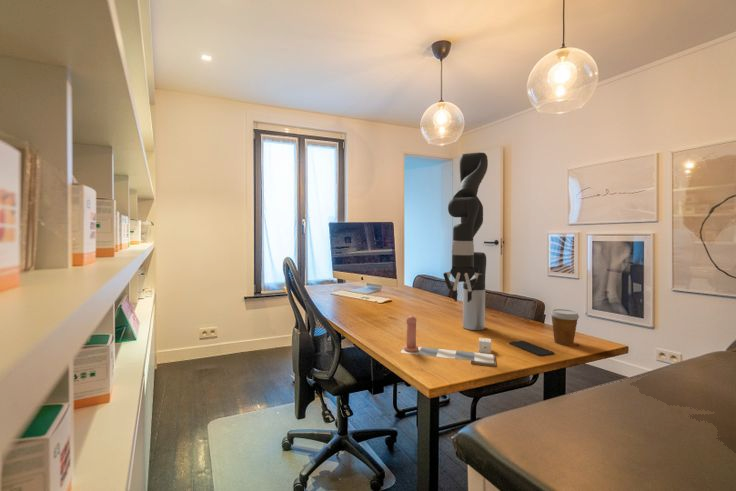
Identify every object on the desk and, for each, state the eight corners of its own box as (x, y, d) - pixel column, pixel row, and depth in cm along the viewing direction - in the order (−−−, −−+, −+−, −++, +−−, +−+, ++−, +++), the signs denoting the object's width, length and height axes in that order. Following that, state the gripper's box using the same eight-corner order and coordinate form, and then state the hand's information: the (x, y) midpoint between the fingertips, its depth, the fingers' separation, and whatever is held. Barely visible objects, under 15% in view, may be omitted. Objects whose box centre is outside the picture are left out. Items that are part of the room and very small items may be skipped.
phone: (522, 340, 134) (556, 352, 120) (522, 342, 134) (556, 355, 120) (507, 342, 131) (539, 355, 117) (507, 344, 131) (539, 357, 117)
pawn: (405, 346, 123) (406, 313, 123) (419, 348, 122) (419, 314, 121) (403, 351, 119) (403, 316, 118) (416, 352, 117) (417, 318, 117)
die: (478, 348, 125) (479, 337, 125) (490, 349, 124) (490, 338, 124) (478, 352, 121) (479, 340, 121) (491, 353, 120) (491, 342, 120)
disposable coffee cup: (580, 342, 132) (581, 311, 132) (574, 348, 125) (575, 315, 125) (553, 337, 139) (554, 307, 138) (546, 342, 132) (547, 311, 131)
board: (403, 347, 126) (403, 344, 126) (494, 357, 116) (494, 354, 116) (398, 355, 117) (398, 353, 117) (496, 366, 108) (496, 363, 108)
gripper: (483, 253, 125) (482, 300, 126) (443, 252, 129) (442, 298, 130) (484, 254, 118) (483, 304, 119) (441, 253, 122) (441, 302, 123)
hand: (462, 301), depth 124 cm, fingers open, 3 cm apart
